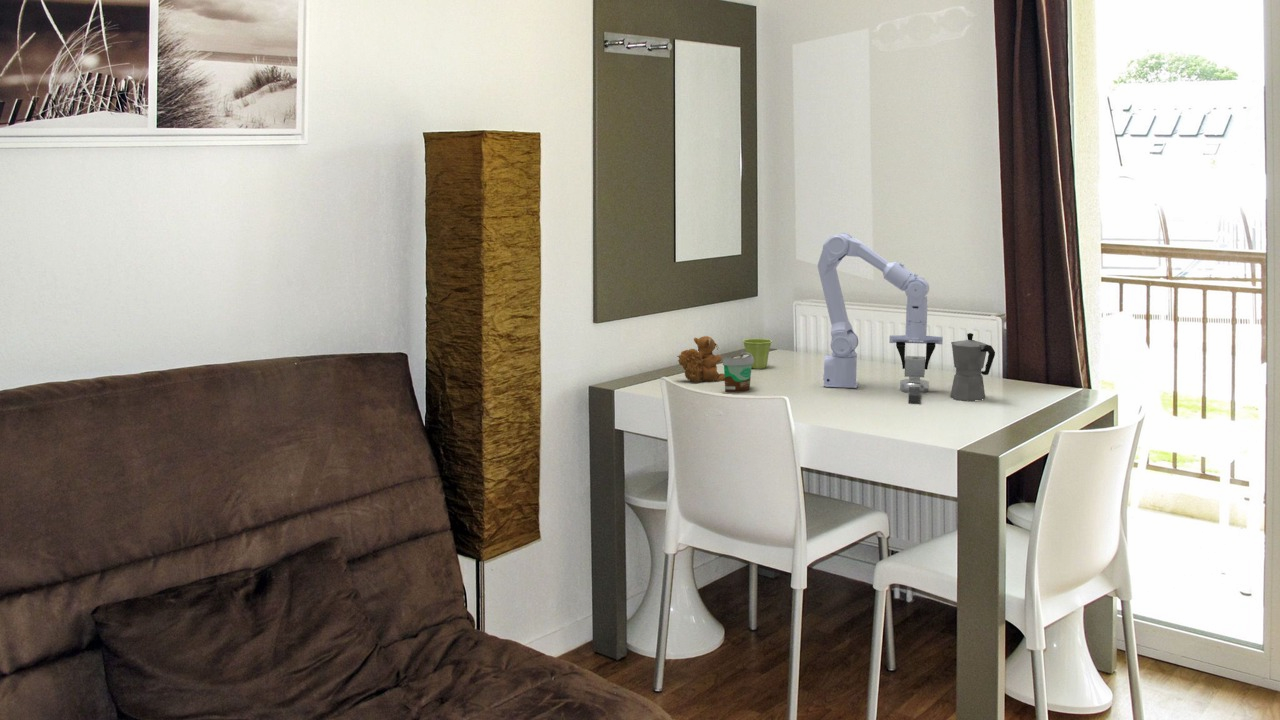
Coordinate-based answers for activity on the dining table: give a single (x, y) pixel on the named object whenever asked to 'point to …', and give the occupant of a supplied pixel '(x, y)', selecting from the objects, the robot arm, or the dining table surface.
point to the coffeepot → (970, 368)
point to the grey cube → (914, 366)
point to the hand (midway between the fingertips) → (914, 368)
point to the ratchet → (914, 388)
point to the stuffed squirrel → (701, 361)
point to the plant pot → (758, 351)
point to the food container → (738, 372)
